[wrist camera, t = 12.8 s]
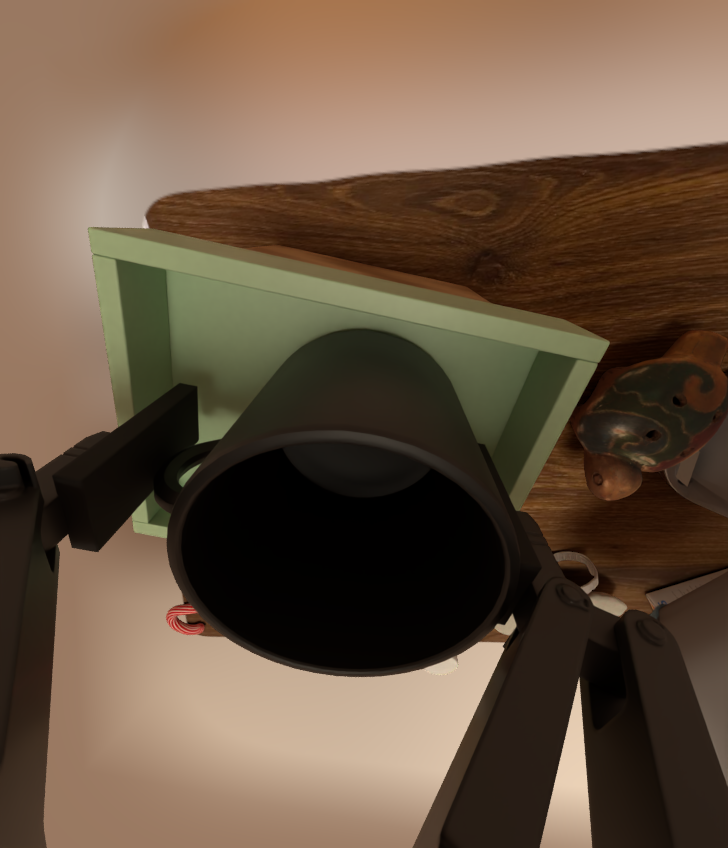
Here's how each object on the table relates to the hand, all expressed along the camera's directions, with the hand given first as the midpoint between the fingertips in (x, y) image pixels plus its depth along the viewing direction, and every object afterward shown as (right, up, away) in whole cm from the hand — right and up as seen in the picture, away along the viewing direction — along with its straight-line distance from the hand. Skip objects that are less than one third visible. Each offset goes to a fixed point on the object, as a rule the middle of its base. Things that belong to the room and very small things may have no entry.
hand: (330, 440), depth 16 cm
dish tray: (0, +1, +2) cm, 2 cm away
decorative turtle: (+25, +3, +18) cm, 31 cm away
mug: (0, +1, +2) cm, 2 cm away
